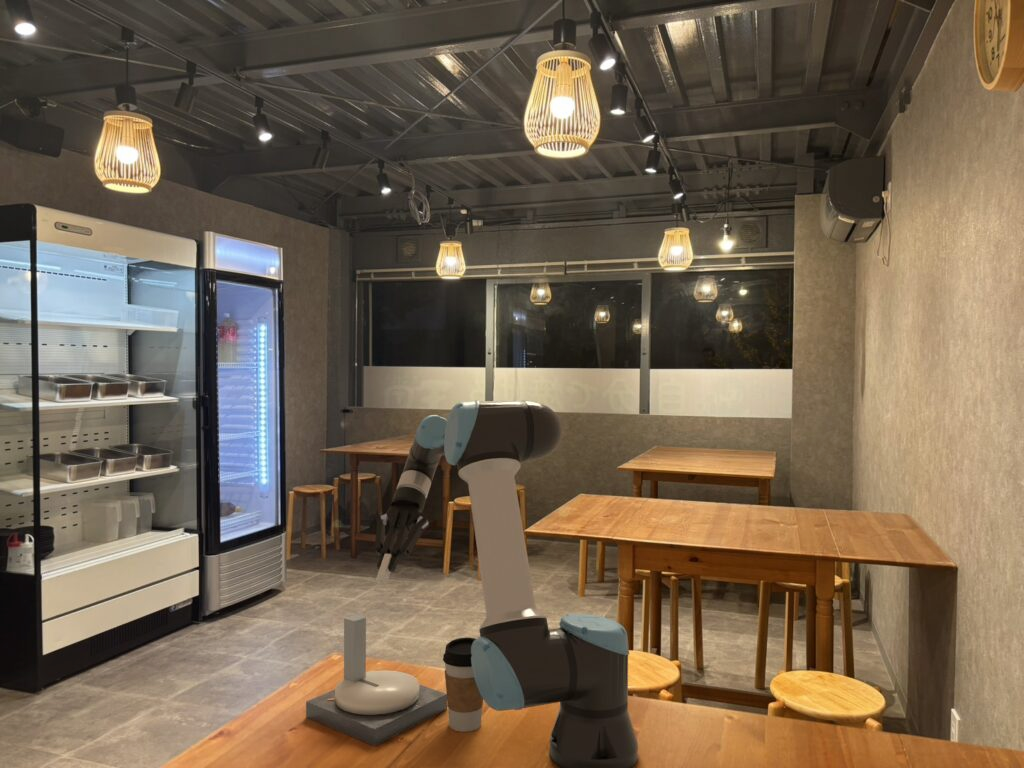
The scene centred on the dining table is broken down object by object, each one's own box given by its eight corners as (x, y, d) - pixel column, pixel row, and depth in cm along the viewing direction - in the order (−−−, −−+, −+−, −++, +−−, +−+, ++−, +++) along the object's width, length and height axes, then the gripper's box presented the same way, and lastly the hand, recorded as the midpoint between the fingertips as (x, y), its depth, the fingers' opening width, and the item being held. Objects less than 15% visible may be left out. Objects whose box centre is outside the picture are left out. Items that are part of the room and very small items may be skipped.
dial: (436, 693, 149) (436, 621, 149) (375, 722, 136) (375, 644, 136) (379, 674, 158) (379, 606, 158) (317, 699, 146) (317, 626, 146)
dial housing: (447, 709, 149) (447, 693, 149) (374, 746, 134) (374, 728, 134) (379, 685, 161) (379, 670, 160) (306, 717, 145) (306, 700, 145)
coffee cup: (490, 715, 146) (490, 637, 146) (484, 736, 138) (484, 653, 138) (447, 713, 147) (447, 636, 147) (438, 733, 139) (438, 651, 139)
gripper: (440, 505, 181) (413, 594, 165) (390, 502, 185) (358, 589, 169) (432, 486, 176) (403, 576, 160) (381, 483, 180) (347, 571, 164)
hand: (380, 583), depth 165 cm, fingers closed
